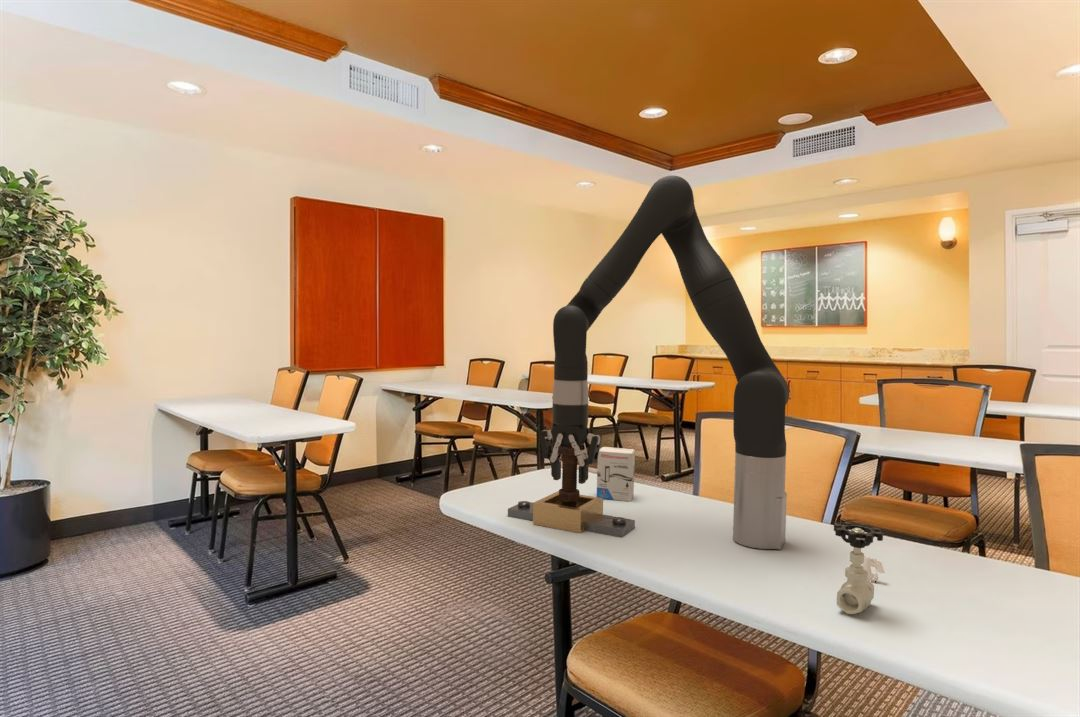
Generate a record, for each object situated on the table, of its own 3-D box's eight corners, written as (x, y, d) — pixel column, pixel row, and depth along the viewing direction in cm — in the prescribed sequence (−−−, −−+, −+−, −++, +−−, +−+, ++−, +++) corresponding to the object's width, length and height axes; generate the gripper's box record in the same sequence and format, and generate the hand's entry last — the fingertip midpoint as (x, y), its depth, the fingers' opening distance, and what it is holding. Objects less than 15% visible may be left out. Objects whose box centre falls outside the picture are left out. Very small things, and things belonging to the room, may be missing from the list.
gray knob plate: (634, 527, 129) (634, 516, 128) (621, 537, 122) (621, 525, 122) (594, 520, 133) (595, 509, 133) (580, 529, 127) (580, 517, 127)
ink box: (595, 498, 151) (596, 450, 150) (599, 493, 155) (600, 446, 155) (631, 501, 148) (632, 452, 147) (634, 496, 153) (635, 448, 152)
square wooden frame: (602, 518, 134) (603, 498, 134) (580, 533, 125) (580, 510, 124) (557, 511, 140) (557, 491, 139) (532, 524, 130) (533, 502, 130)
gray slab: (555, 513, 138) (555, 502, 138) (539, 522, 132) (539, 510, 131) (524, 508, 142) (524, 497, 141) (507, 516, 136) (507, 505, 135)
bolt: (581, 520, 129) (582, 448, 128) (556, 519, 129) (558, 447, 129) (579, 511, 135) (581, 443, 134) (556, 511, 135) (558, 442, 134)
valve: (885, 608, 92) (888, 528, 92) (873, 623, 87) (876, 539, 87) (838, 595, 97) (840, 518, 96) (824, 609, 92) (826, 528, 91)
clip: (885, 583, 102) (885, 560, 101) (880, 586, 100) (881, 563, 100) (853, 573, 105) (854, 551, 105) (848, 576, 104) (849, 554, 104)
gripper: (609, 401, 131) (607, 482, 131) (549, 397, 138) (548, 473, 139) (594, 405, 124) (592, 489, 125) (531, 400, 131) (531, 480, 132)
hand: (569, 480), depth 132 cm, fingers closed on bolt, 5 cm apart
